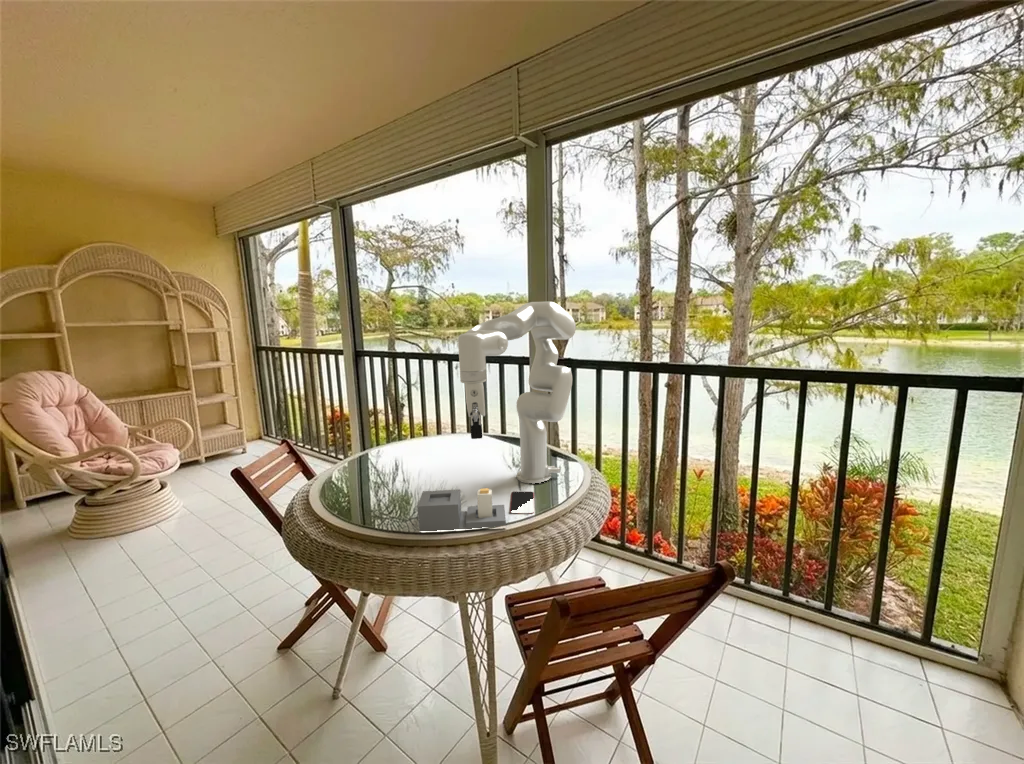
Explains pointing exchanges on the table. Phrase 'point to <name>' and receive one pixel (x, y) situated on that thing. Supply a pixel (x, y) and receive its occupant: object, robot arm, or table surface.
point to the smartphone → (520, 499)
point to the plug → (484, 503)
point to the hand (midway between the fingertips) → (476, 433)
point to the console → (453, 512)
